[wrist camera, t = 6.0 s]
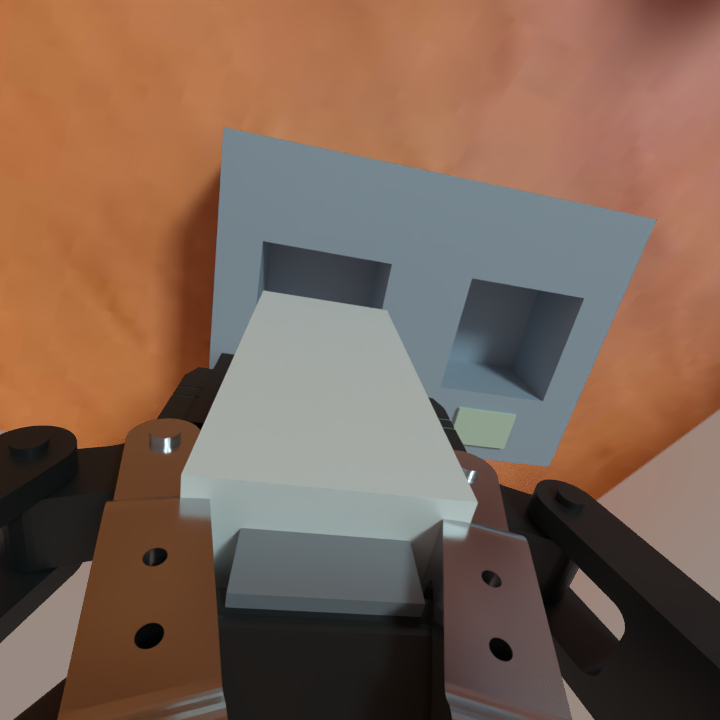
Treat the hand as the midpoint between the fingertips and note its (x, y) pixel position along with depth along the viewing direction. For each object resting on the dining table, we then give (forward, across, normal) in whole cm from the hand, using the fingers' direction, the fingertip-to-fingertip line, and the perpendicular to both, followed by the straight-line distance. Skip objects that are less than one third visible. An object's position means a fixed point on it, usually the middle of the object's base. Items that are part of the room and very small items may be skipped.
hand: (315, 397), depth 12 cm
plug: (+3, 0, 0) cm, 3 cm away
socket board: (+13, -5, 0) cm, 13 cm away
